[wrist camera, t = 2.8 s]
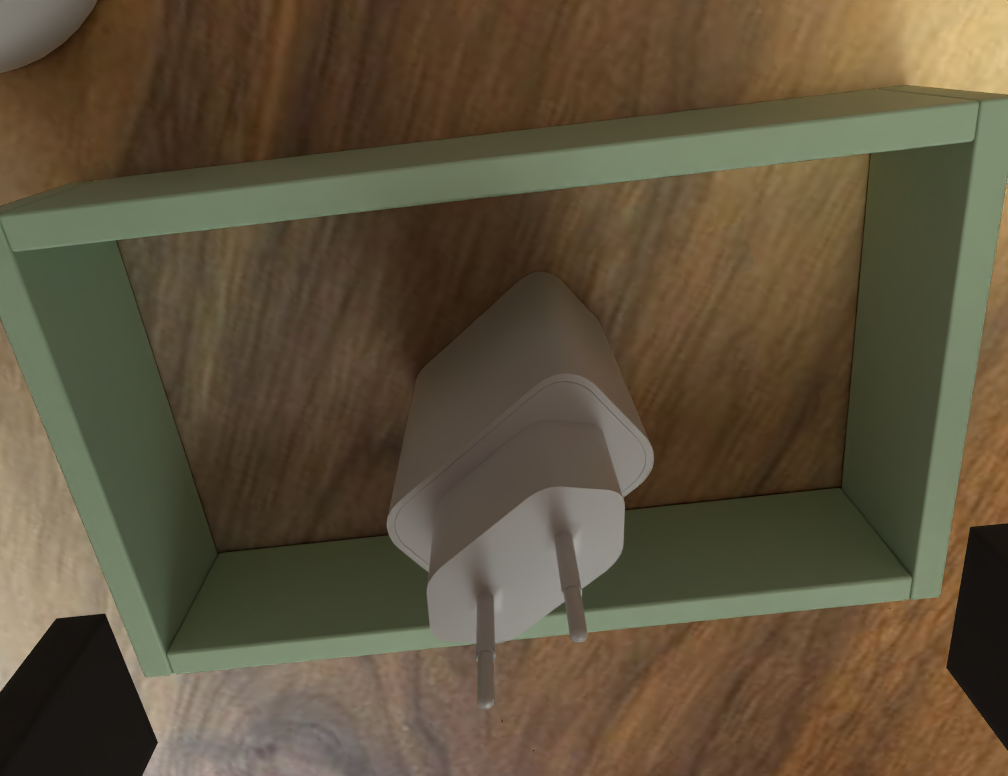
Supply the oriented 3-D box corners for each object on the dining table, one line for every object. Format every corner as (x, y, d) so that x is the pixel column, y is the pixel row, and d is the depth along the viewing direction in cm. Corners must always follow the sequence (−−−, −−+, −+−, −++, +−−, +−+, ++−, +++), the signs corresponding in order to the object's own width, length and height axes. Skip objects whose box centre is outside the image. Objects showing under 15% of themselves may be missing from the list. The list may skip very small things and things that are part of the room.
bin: (67, 183, 20) (-42, 219, 16) (907, 84, 19) (1022, 95, 15) (200, 574, 25) (144, 678, 21) (863, 504, 24) (941, 598, 20)
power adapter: (614, 337, 22) (746, 631, 11) (477, 452, 23) (471, 814, 12) (542, 259, 21) (605, 497, 10) (404, 384, 22) (326, 713, 11)
